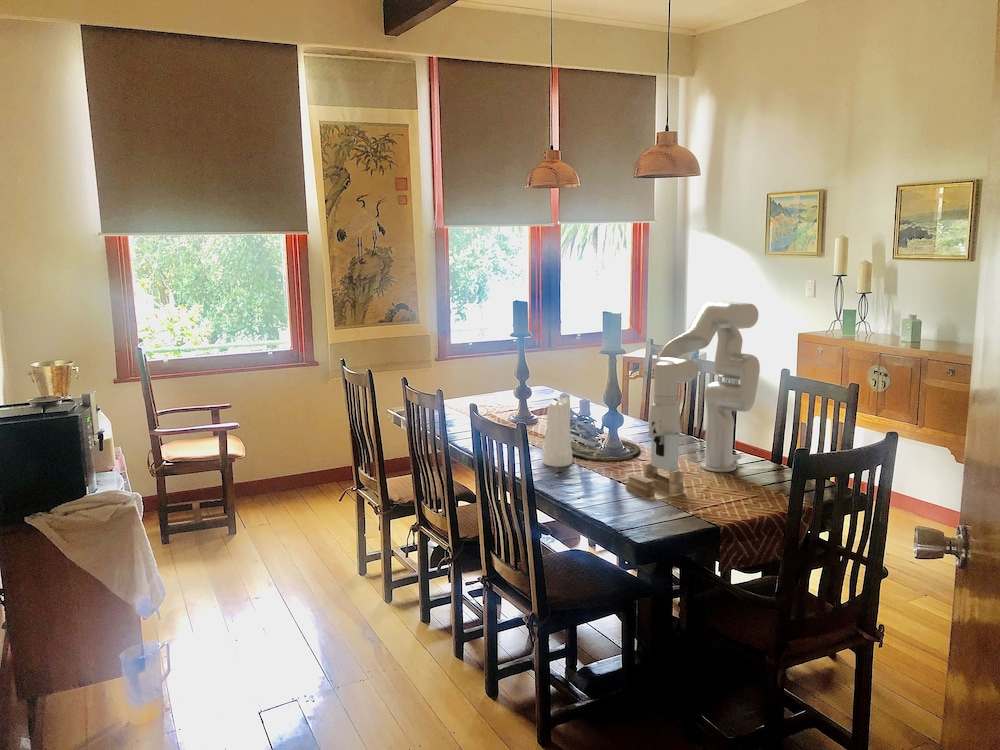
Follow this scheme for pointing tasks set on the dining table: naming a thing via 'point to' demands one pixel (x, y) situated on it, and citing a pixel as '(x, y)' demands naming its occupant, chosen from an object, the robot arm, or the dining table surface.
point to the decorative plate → (594, 455)
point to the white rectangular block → (666, 453)
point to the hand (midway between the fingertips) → (664, 453)
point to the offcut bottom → (640, 491)
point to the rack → (664, 482)
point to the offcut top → (641, 482)
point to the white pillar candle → (558, 435)
